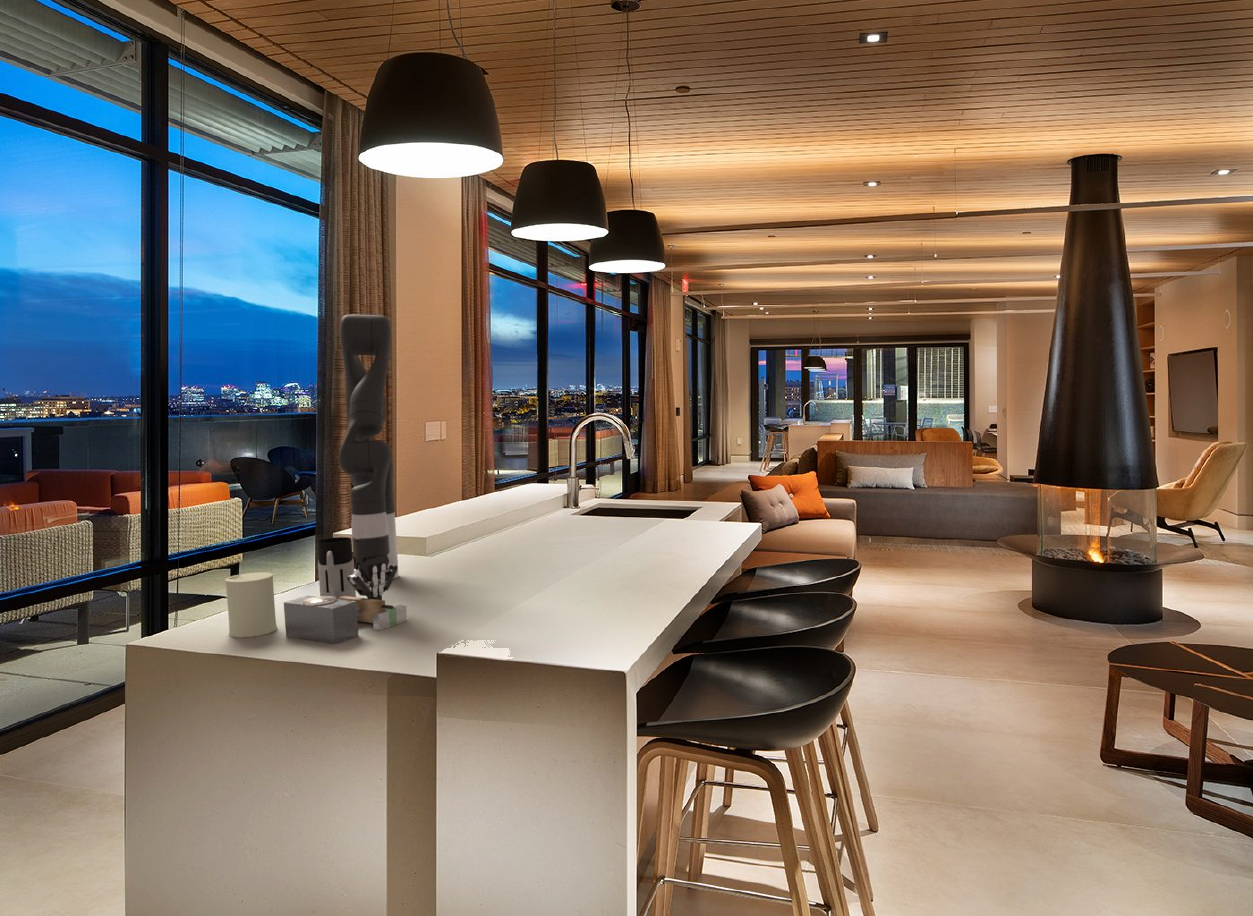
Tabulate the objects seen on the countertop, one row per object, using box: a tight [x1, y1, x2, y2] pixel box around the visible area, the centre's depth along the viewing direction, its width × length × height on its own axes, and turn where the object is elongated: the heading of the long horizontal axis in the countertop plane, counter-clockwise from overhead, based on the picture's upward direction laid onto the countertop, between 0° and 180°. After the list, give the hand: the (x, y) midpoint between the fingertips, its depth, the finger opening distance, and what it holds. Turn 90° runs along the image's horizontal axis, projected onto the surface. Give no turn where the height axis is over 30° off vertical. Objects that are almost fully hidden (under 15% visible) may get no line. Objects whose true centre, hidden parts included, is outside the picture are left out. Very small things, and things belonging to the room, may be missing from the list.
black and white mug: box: [316, 536, 357, 599], centre depth 196 cm, size 9×14×15 cm, turn 10°
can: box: [224, 571, 278, 639], centre depth 178 cm, size 9×9×12 cm
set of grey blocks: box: [283, 595, 408, 645], centre depth 177 cm, size 15×19×7 cm
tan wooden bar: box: [338, 596, 395, 624], centre depth 179 cm, size 15×6×5 cm, turn 61°
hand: (375, 612), depth 185 cm, fingers closed
